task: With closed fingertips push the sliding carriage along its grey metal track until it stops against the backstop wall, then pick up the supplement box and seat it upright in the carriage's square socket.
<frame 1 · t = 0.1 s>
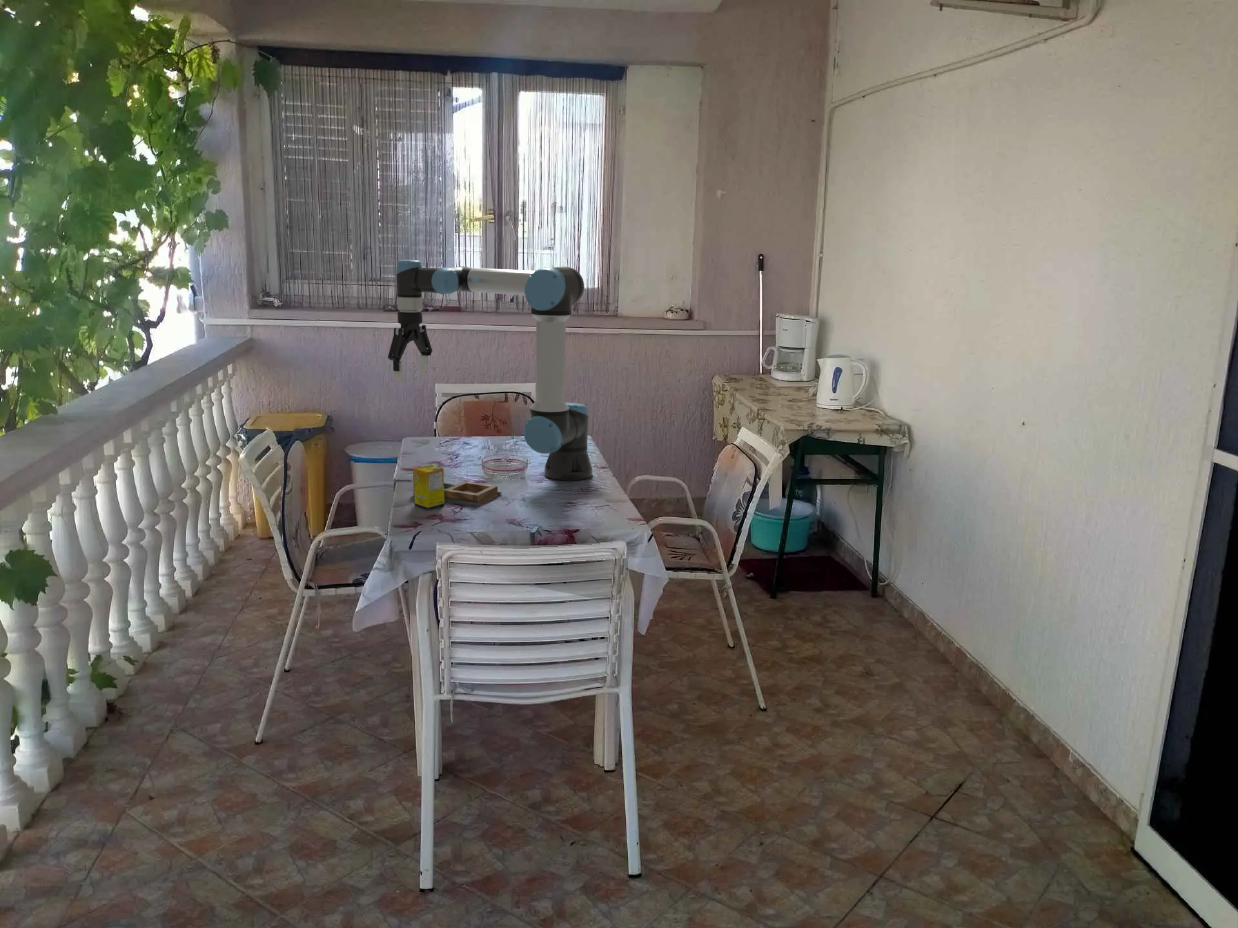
hand: (411, 378, 293), 28 cm above the table, fingers open, 13 cm apart
carriage: (471, 493, 265), point 2 cm above the table, slide at 0.0 cm
track: (459, 496, 267), on the table
supplement box: (429, 506, 257), on the table
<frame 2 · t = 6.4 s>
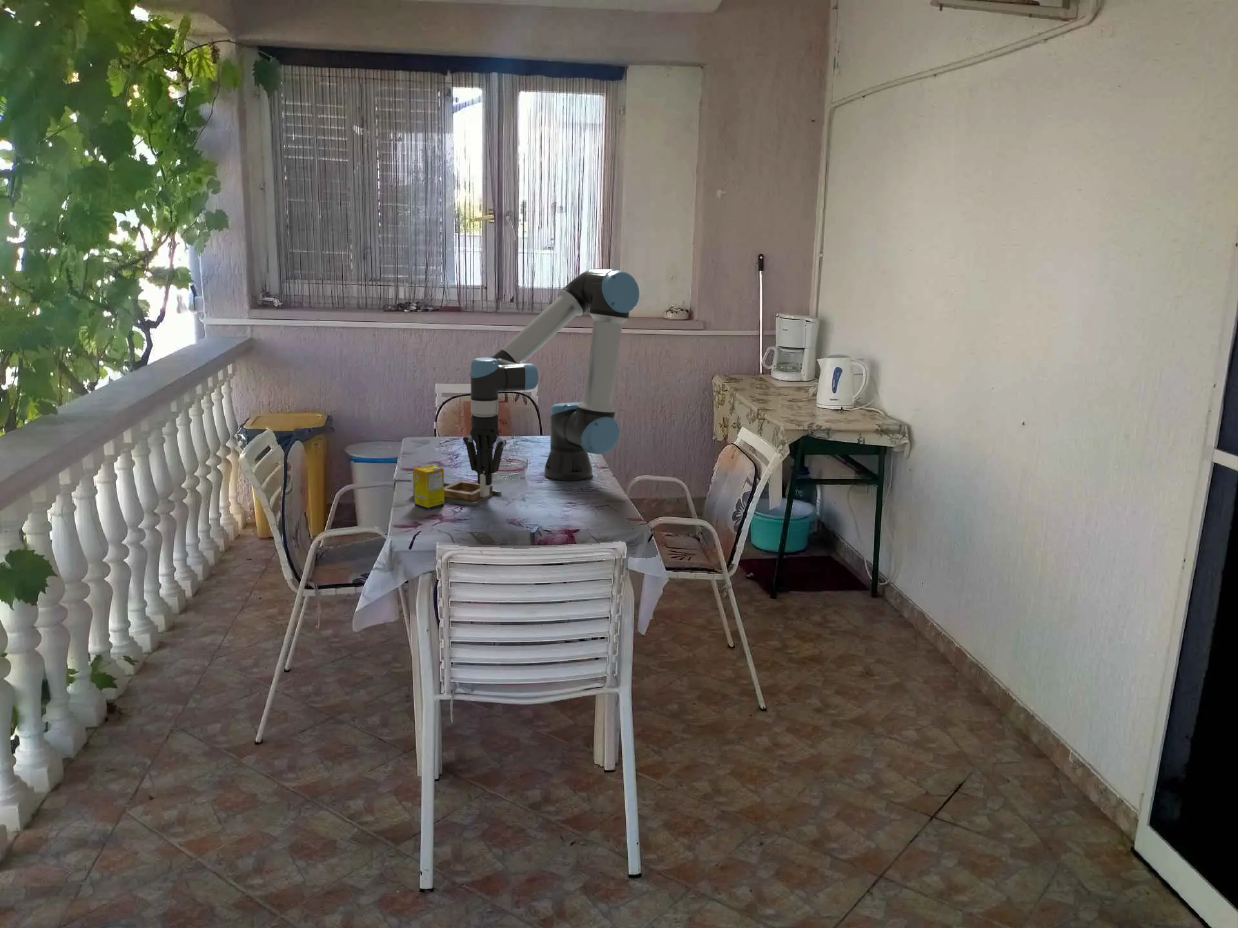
hand: (484, 495, 264), 1 cm above the table, fingers closed
carriage: (465, 492, 266), point 2 cm above the table, slide at 1.7 cm, touching gripper
everything else where it was.
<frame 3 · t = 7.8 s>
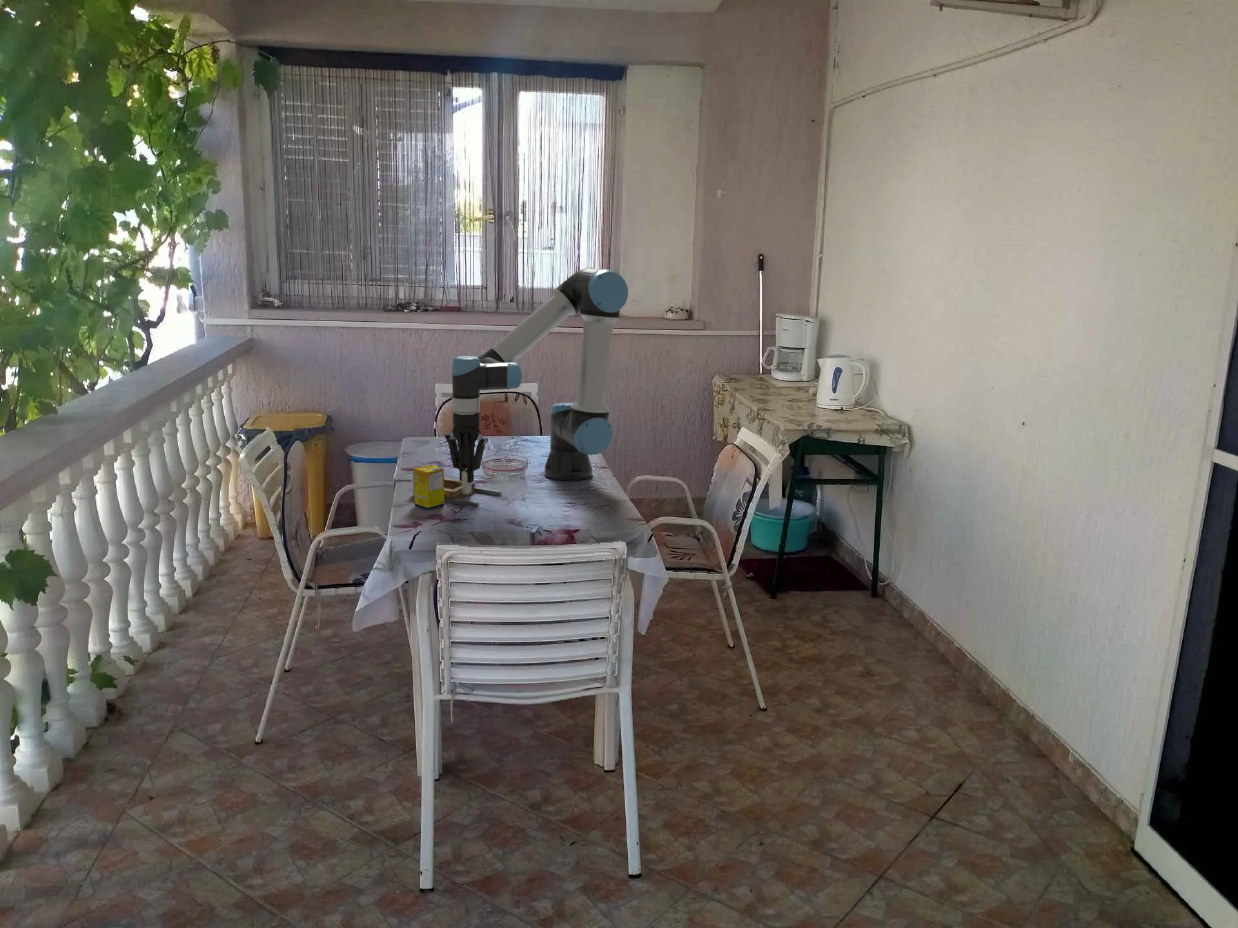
hand: (466, 492, 266), 1 cm above the table, fingers closed
carriage: (448, 489, 268), point 2 cm above the table, slide at 7.6 cm, touching gripper
everything else where it was.
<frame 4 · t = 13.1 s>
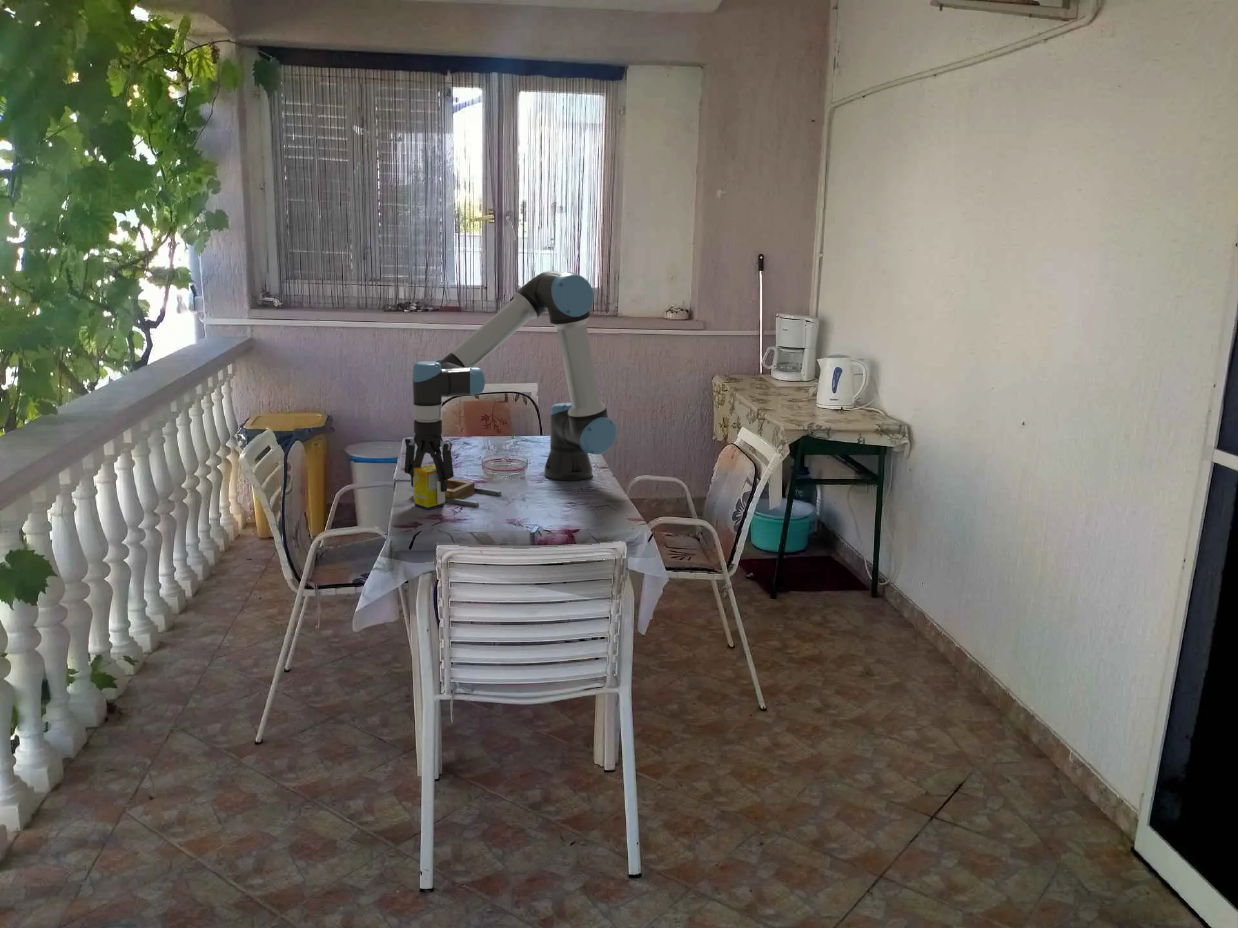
hand: (429, 500, 257), 2 cm above the table, fingers closed on supplement box, 7 cm apart
carriage: (448, 489, 268), point 2 cm above the table, slide at 7.7 cm
supplement box: (429, 506, 257), on the table, touching gripper
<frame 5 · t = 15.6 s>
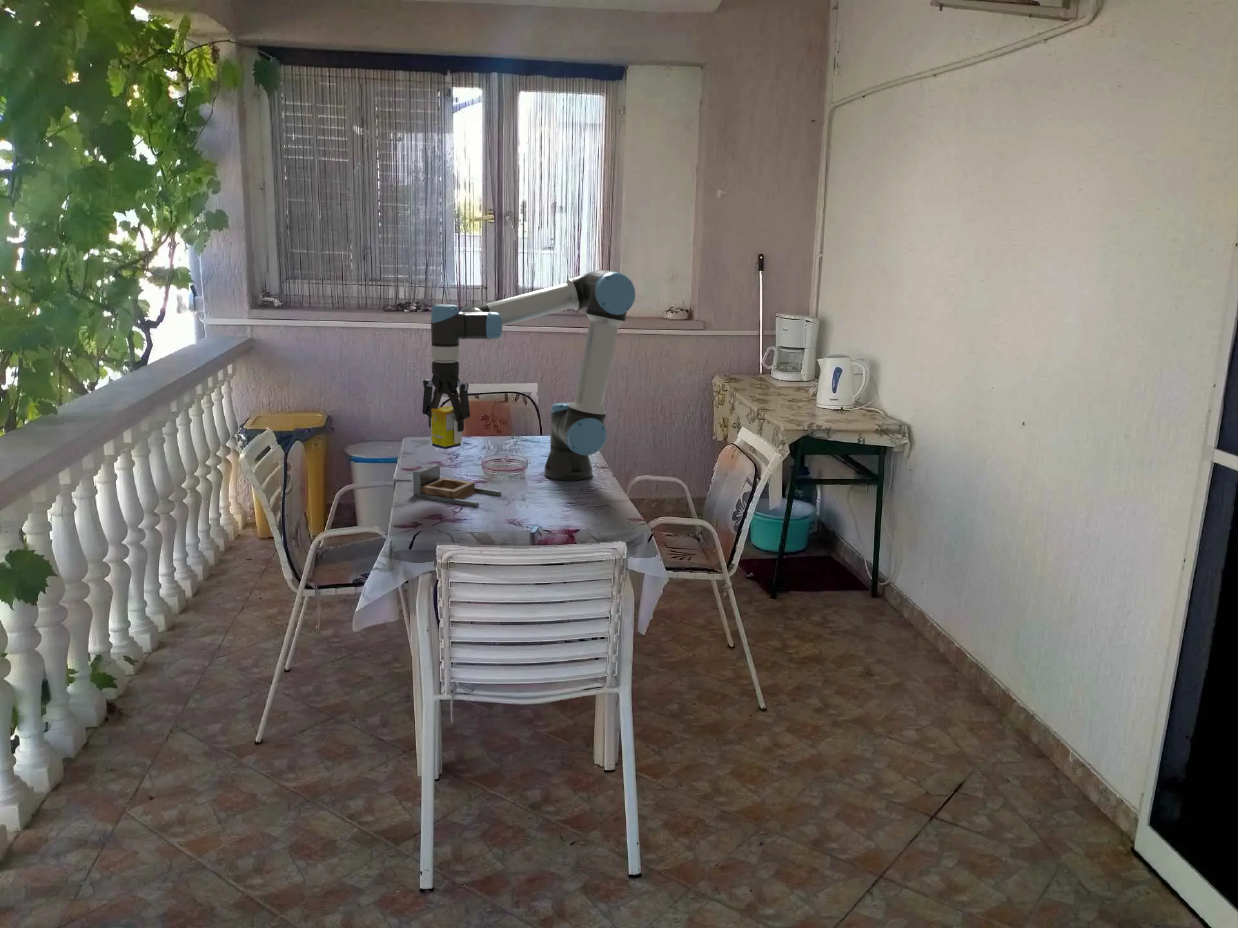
hand: (446, 440, 265), 16 cm above the table, fingers closed on supplement box, 7 cm apart
supplement box: (446, 446, 265), point 14 cm above the table, touching gripper
everything else where it was.
when the fingers open (4 cm above the table, at t = 17.9 s): supplement box drops 2 cm, point 1 cm above the table.
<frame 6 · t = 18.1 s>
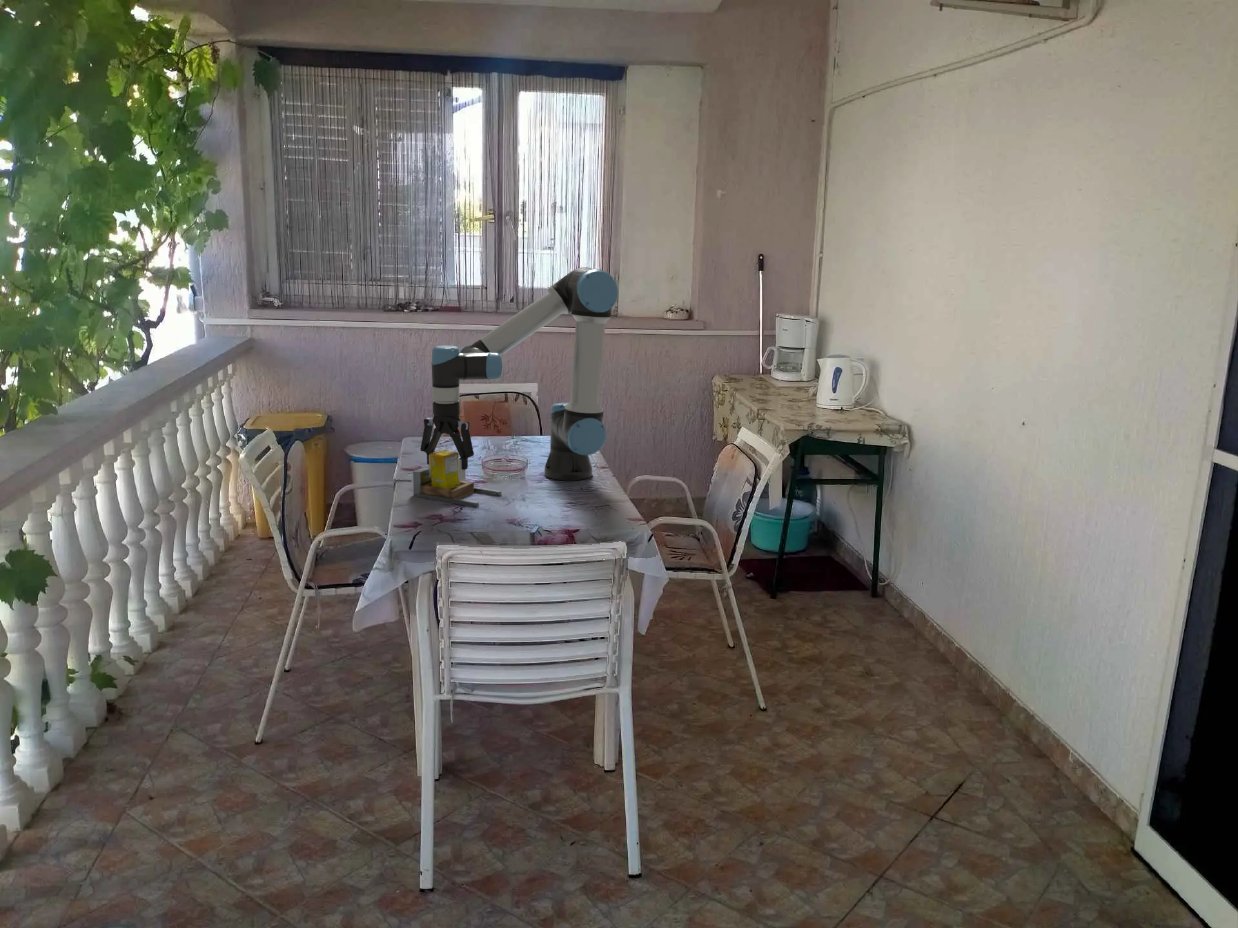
hand: (447, 478, 267), 5 cm above the table, fingers open, 9 cm apart
supplement box: (446, 490, 268), point 1 cm above the table, touching gripper
everything else where it was.
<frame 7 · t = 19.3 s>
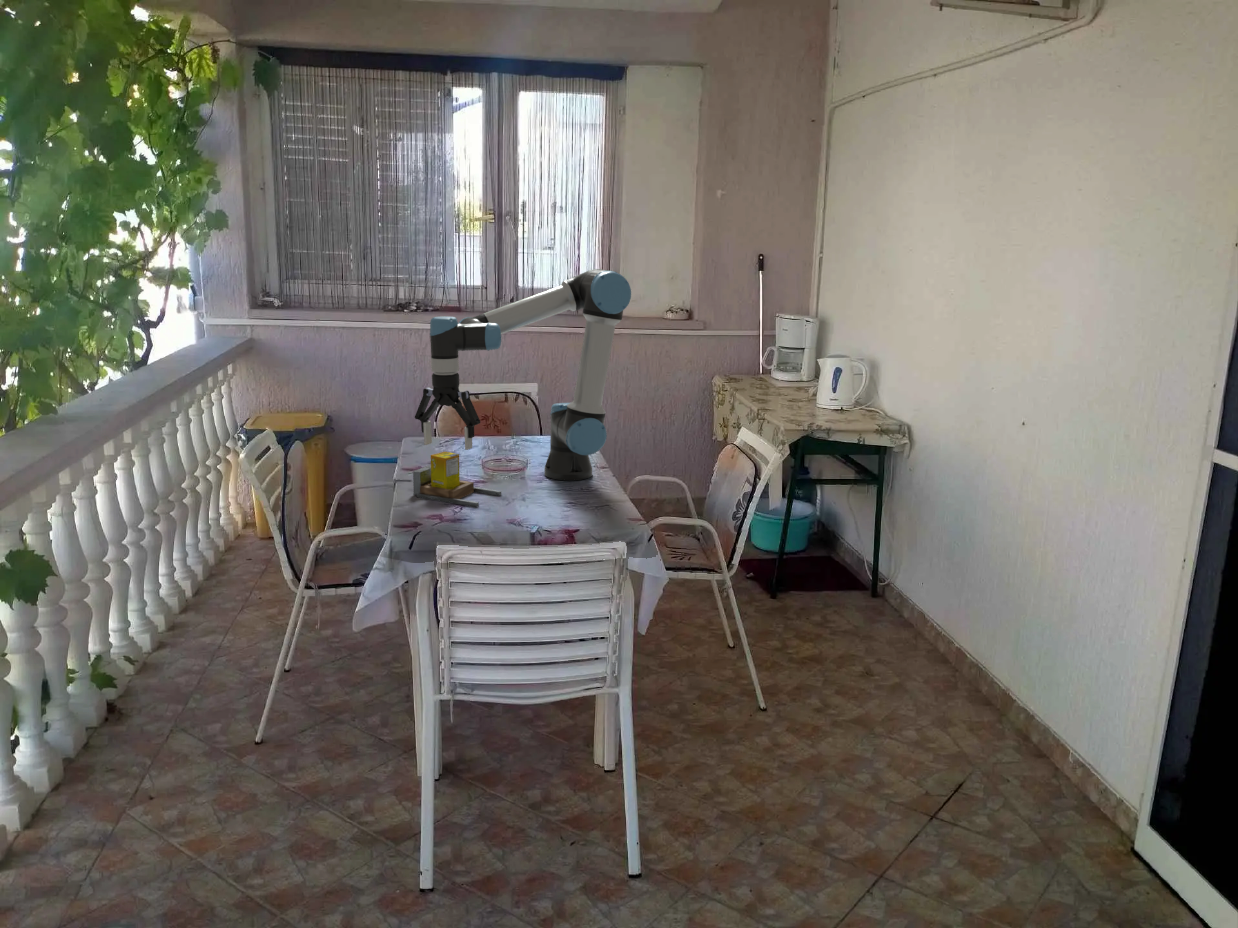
hand: (448, 446, 265), 14 cm above the table, fingers open, 13 cm apart
carriage: (447, 489, 268), point 2 cm above the table, slide at 8.0 cm, touching supplement box
supplement box: (445, 491, 268), point 1 cm above the table, touching carriage
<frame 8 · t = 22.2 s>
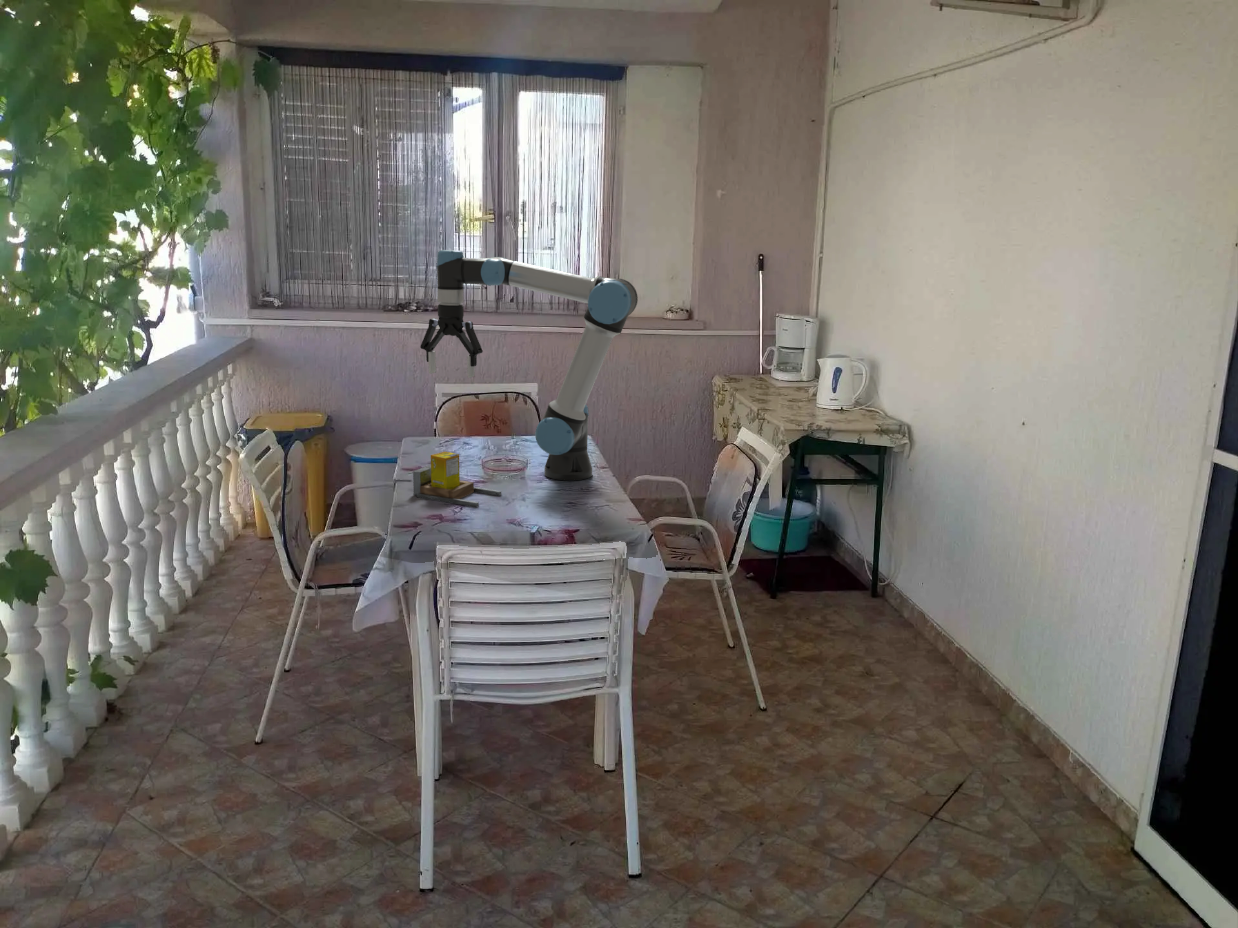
hand: (451, 375, 279), 32 cm above the table, fingers open, 13 cm apart
nothing on the table moved.
at the end: carriage slide at 8.0 cm; supplement box 0.5 cm off-centre on the carriage, point 0.8 cm above the carriage's base; supplement box tilted 0° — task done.
